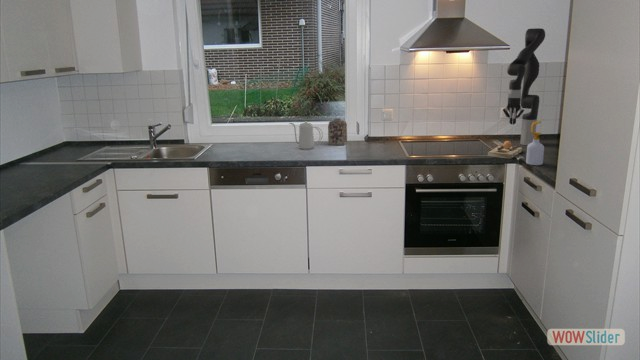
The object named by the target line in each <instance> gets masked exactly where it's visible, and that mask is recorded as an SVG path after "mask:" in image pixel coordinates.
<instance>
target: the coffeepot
mask: <svg viewBox="0 0 640 360" xmlns="http://www.w3.org/2000/svg"><path fill="white" fill-rule="evenodd" d="M288 125H292V126H293V127H294V128H293V129H294V136H295V137H294V139H295V142H296V144H298V148H299V150H312V149H315V145H317V144H319V143H320V142H321V141H322V139H323V135H324V131H323V130H322V129H321V128H320V127H318V126H313V124H312V123H310V122H308V121H307V120H305V121H303V122H301V123H300V125H298V127H299V130H298V131H299V133H298V135H299V136H298V137H297V130H296V124H294V123H292V122H289V123H288ZM314 129H316V130H317V131H318V134H319V138H318V140H317V142H316V143H315V138H314V137H315V136H314ZM297 138H298V139H297Z"/></svg>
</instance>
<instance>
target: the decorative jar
mask: <svg viewBox="0 0 640 360" xmlns="http://www.w3.org/2000/svg"><path fill="white" fill-rule="evenodd" d="M327 129H328V130H327V137H328V139H327V141H328V146H345V145H346V144H347V143H348V124H347V122H346V121H345V120H342V118H341V117H339V118H338V117H337V118H333V120H331V121H329V122H328V126H327Z"/></svg>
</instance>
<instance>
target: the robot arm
mask: <svg viewBox="0 0 640 360" xmlns="http://www.w3.org/2000/svg"><path fill="white" fill-rule="evenodd" d="M524 36H525V37H524V48H523V49H522V50H521V51H520V52H519V53H518V55H517V56H516V58H515V59H514V60H513V61H512V62H511V63H510V64H509V65H508V67H507V68H506V69H507V70H506V72H507V75H509V76H512V77H516V78H515V79H511V80H510V81H509V85H508V86H509V87H508V92H507V105H506V107H505V108H503V109H502V111H503V113H504V114H505V116H506V118H508V119H509V124H510V125H515V124H517V119H518V118H520V117H521V115H522V117H521V129H520V131H521V132H520V142H519V143H520V145H521V146H528V145H529V144H530V143H532V142H533V138H535V136H534V134H533V133H537V125H538V124H535V125H534V126H533V133H531V125H532V123H534V122H537V121H538V114H539V105H540V96H539V95H537V94H529V91H530V90H531V89H530V88H531V86H532V85H533V83H534V82H535V81H536V79H538V76H539V75H540V62H539V60H538V58H537V57H536V54H535V52H536V51H537V49H538V48H539V47H540V46H541V45H542V43H543V42H544V41H545V39H546V31H545V29H544V28H538V27H537V28H528V29H527V30H526V31H525V35H524ZM525 109H528V110H529V109H530V111H529V112H526V113H524V112H525ZM518 112H519V113H518Z"/></svg>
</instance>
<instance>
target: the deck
mask: <svg viewBox="0 0 640 360" xmlns="http://www.w3.org/2000/svg"><path fill="white" fill-rule="evenodd" d="M522 152H523V147H521V146H519V147H518V144H515V145H514V146H511V148H509V149H506V148H504V146H503V144H502V145H498V146H497V147H495V148H493V149H491V150H490V151H488V152H487V157H491V158H492V157H493V158H500V159H501V158H502V159H509V160H510V159H512V158H514V157H515V156H517V155H519V154H520V153H522Z"/></svg>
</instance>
